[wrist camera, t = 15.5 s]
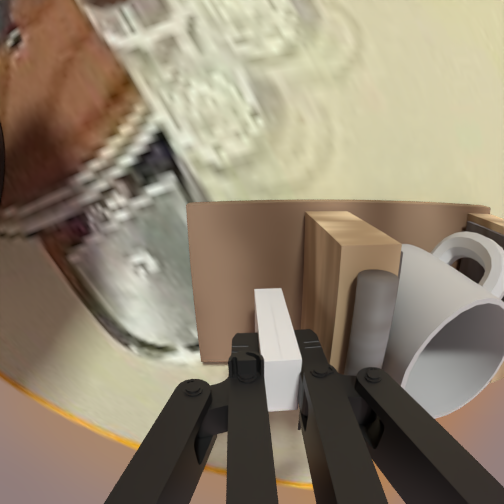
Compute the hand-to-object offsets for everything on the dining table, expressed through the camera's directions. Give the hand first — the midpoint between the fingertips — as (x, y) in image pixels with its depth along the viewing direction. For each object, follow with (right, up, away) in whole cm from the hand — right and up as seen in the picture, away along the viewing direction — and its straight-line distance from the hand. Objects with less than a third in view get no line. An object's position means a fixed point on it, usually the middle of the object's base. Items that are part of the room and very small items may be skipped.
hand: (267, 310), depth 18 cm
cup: (+10, +2, +3) cm, 10 cm away
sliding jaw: (+4, +1, +2) cm, 4 cm away
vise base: (+6, +1, +3) cm, 7 cm away
